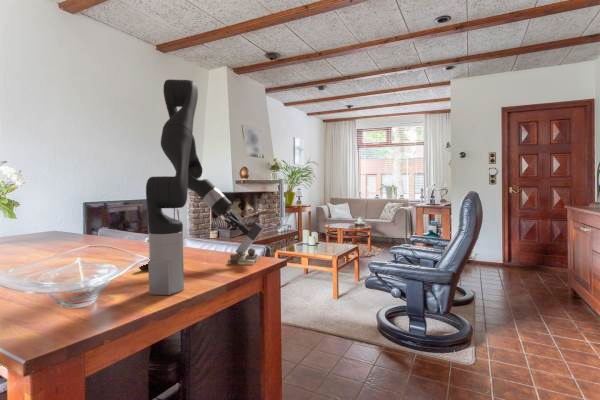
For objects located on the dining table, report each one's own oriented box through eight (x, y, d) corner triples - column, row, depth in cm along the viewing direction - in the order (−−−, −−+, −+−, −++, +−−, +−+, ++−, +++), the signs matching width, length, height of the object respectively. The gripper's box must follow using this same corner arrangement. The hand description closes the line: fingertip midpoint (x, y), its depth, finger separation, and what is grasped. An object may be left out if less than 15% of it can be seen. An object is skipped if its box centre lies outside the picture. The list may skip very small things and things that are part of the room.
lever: (238, 261, 134) (261, 229, 132) (230, 255, 134) (254, 223, 132) (242, 257, 140) (265, 227, 138) (235, 252, 140) (258, 221, 138)
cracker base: (253, 264, 131) (253, 251, 131) (227, 264, 132) (227, 250, 132) (259, 258, 141) (259, 246, 141) (235, 258, 142) (235, 245, 142)
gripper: (218, 196, 130) (249, 229, 129) (229, 194, 143) (258, 224, 142) (204, 210, 131) (236, 242, 130) (217, 207, 144) (246, 237, 143)
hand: (247, 233), depth 136 cm, fingers closed
